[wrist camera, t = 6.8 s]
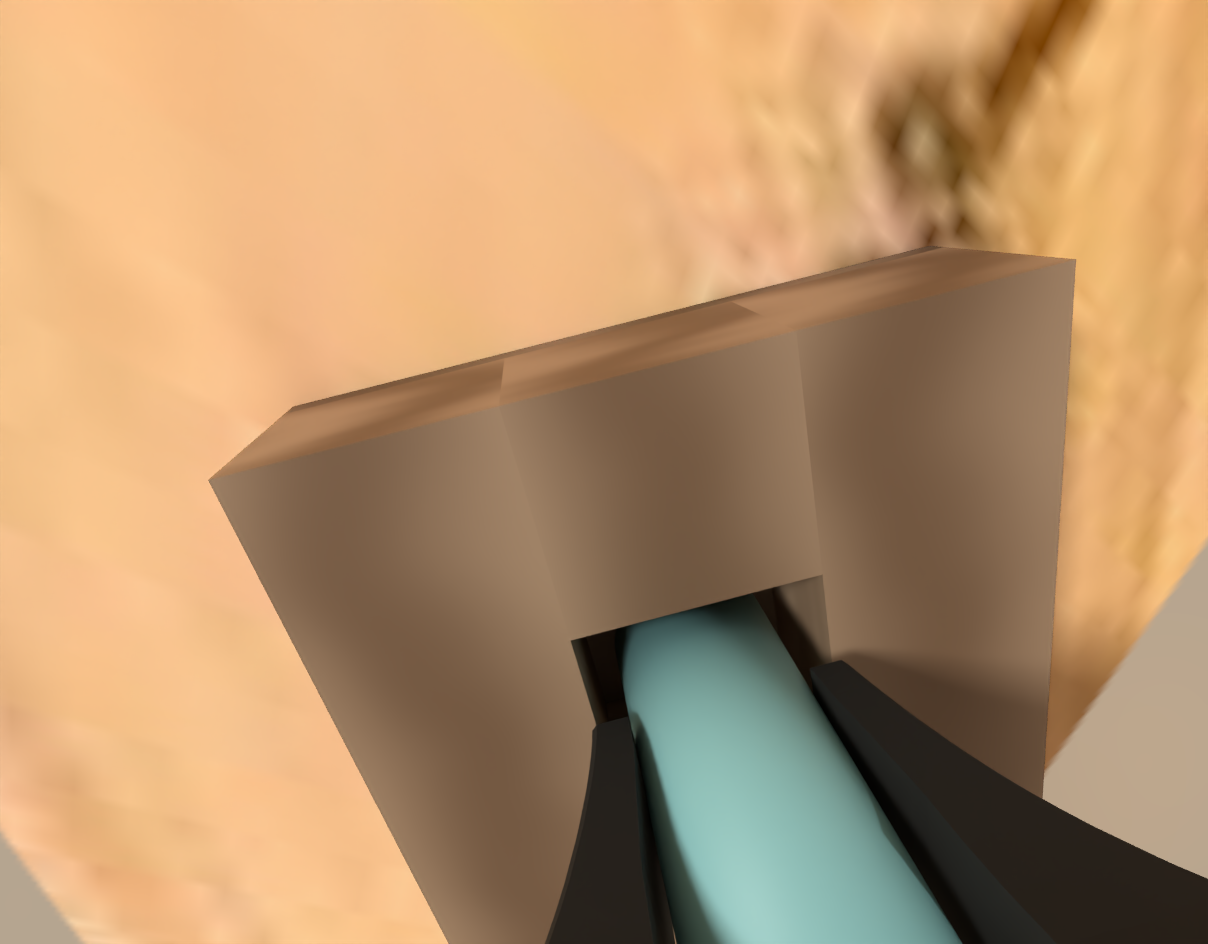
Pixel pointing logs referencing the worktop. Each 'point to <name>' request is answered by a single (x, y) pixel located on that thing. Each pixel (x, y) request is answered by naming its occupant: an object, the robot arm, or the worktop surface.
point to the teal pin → (760, 793)
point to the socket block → (669, 540)
